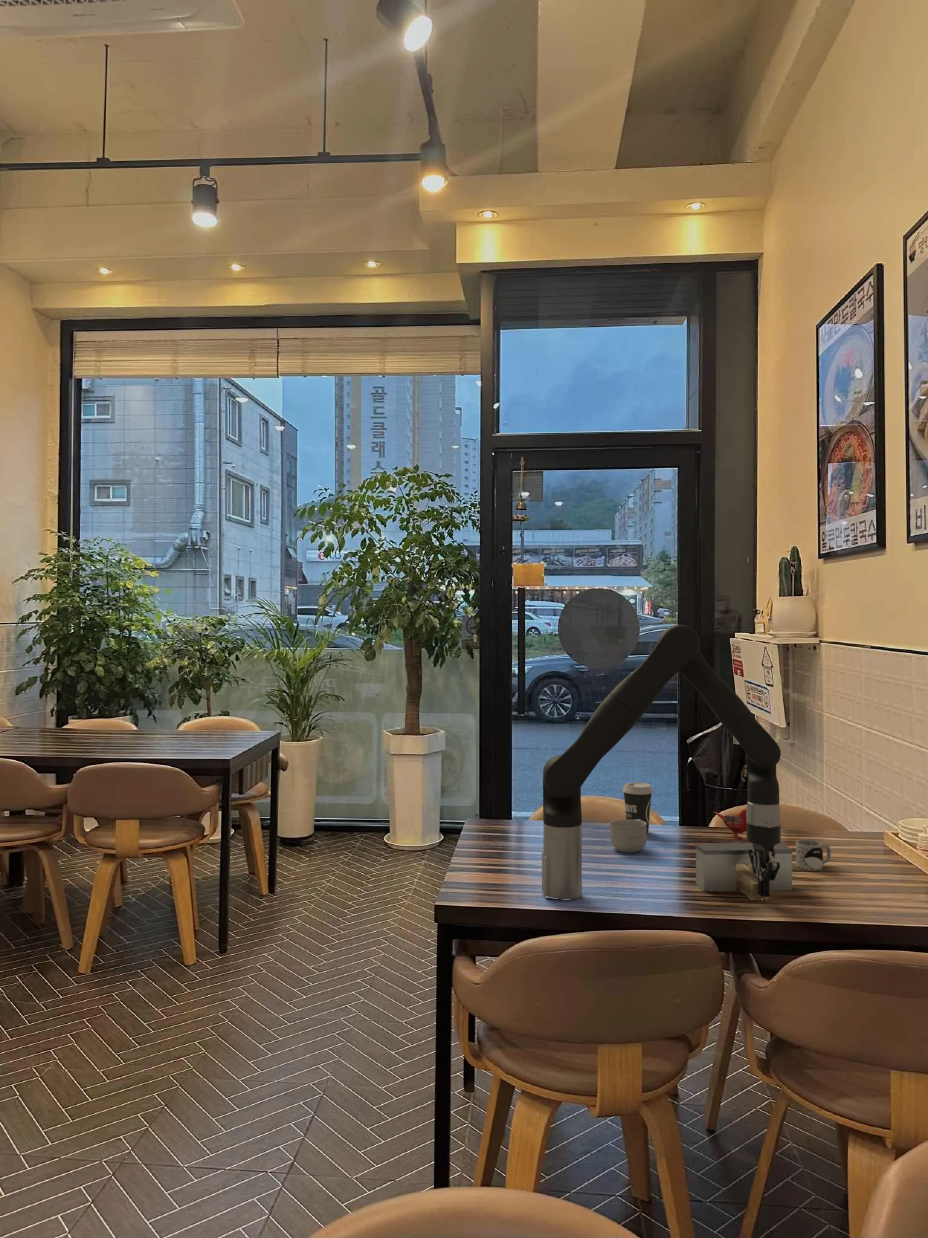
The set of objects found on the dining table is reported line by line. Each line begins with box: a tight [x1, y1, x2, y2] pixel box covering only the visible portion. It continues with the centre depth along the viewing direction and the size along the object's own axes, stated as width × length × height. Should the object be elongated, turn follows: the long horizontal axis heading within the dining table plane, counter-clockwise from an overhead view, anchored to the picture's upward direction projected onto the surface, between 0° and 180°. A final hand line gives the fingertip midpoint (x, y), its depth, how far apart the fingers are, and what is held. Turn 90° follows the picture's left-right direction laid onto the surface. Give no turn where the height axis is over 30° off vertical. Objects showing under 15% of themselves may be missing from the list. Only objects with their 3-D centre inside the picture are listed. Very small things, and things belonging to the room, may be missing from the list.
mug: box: [795, 839, 832, 872], centre depth 219 cm, size 10×7×7 cm
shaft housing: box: [695, 842, 793, 892], centre depth 202 cm, size 22×6×10 cm, turn 93°
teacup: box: [608, 819, 648, 853], centre depth 237 cm, size 14×11×8 cm
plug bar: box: [736, 864, 770, 901], centre depth 202 cm, size 4×22×4 cm, turn 2°
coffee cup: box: [621, 782, 654, 835], centre depth 256 cm, size 10×10×15 cm
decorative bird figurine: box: [713, 808, 747, 840], centre depth 250 cm, size 3×18×10 cm, turn 24°
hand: (763, 896), depth 189 cm, fingers closed
